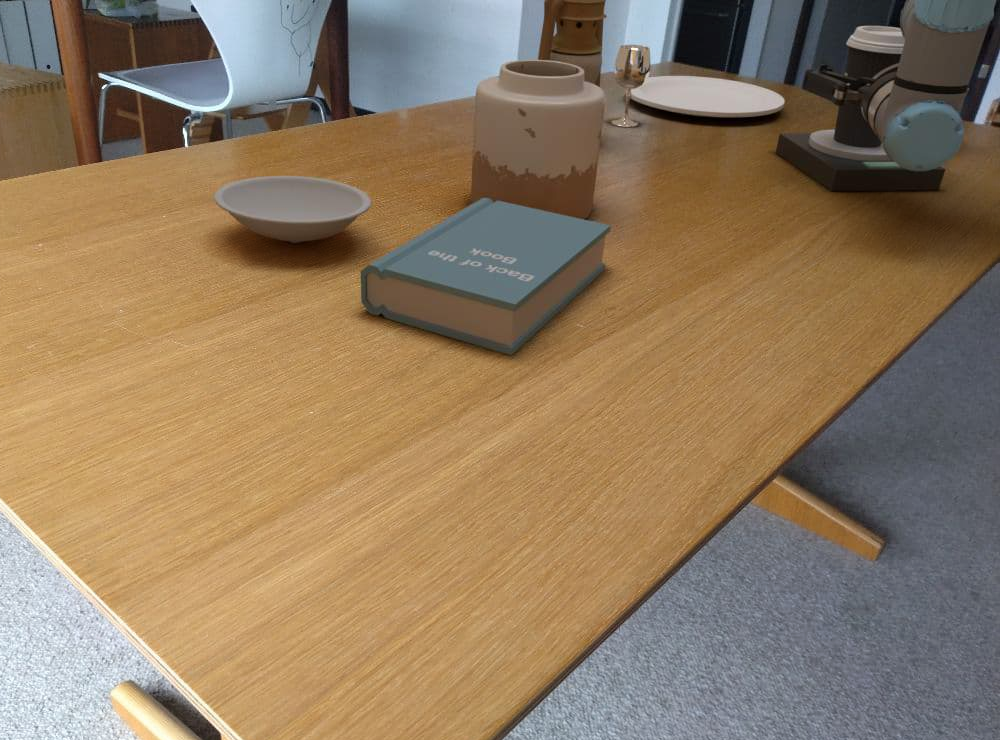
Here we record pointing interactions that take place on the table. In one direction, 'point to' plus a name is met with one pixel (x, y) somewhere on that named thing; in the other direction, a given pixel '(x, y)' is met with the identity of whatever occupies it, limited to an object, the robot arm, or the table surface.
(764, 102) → the plate
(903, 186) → the scale
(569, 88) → the vase
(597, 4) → the lantern
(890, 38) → the coffee cup
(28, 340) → the table surface
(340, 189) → the dish
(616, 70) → the wineglass
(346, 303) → the table surface
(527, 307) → the book
